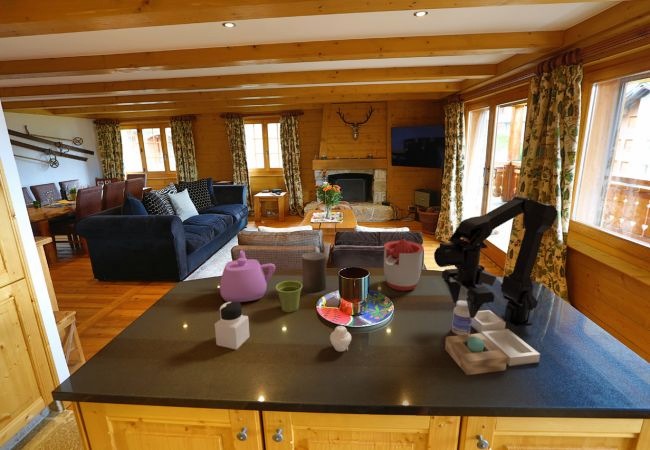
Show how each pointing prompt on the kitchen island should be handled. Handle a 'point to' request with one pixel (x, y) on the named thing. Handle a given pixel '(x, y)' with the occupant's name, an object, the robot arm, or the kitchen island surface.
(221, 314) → the medicine bottle
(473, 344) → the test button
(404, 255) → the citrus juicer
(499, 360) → the square wooden tray
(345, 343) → the white rounded piece
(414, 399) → the kitchen island surface
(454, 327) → the pill bottle
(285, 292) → the plant pot
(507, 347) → the shallow white tray
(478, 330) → the white tray box
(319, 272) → the pillar candle
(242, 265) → the teapot
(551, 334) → the kitchen island surface
